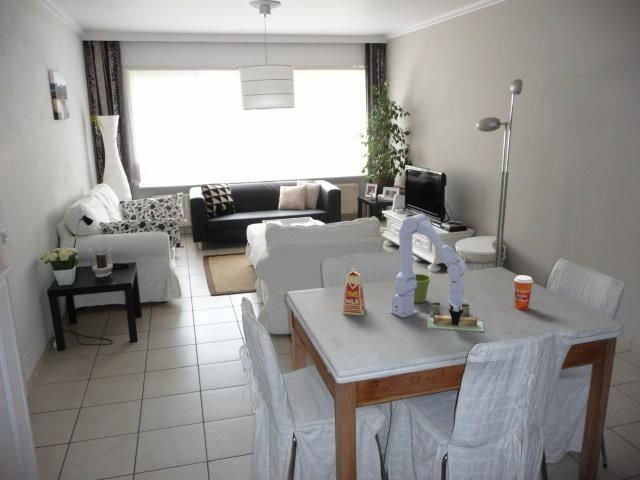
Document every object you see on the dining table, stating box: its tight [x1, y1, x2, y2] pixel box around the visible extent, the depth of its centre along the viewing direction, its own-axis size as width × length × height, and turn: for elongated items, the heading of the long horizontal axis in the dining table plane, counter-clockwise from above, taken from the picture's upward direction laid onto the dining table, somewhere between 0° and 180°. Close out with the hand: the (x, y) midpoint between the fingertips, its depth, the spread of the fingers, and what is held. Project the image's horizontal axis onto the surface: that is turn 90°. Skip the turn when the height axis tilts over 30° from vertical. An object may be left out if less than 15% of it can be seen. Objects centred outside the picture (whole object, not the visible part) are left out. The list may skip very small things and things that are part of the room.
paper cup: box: [513, 274, 534, 311], centre depth 233 cm, size 8×8×14 cm
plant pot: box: [414, 273, 432, 304], centre depth 245 cm, size 12×12×11 cm
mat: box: [426, 317, 485, 333], centre depth 217 cm, size 22×10×1 cm, turn 77°
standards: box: [429, 301, 472, 318], centre depth 227 cm, size 17×5×5 cm, turn 77°
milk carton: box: [341, 267, 366, 316], centre depth 233 cm, size 9×9×20 cm
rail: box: [433, 314, 478, 327], centre depth 216 cm, size 17×3×3 cm, turn 77°
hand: (455, 321), depth 216 cm, fingers open, 7 cm apart
